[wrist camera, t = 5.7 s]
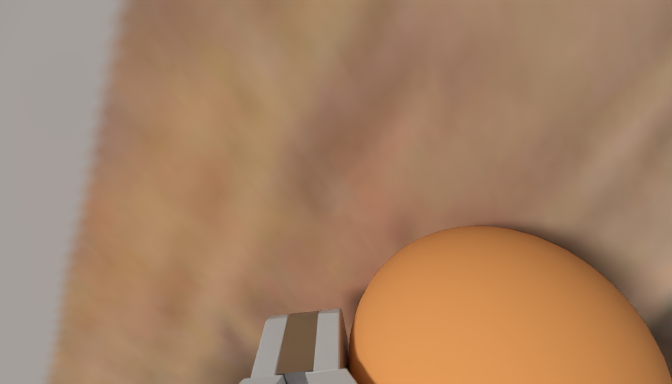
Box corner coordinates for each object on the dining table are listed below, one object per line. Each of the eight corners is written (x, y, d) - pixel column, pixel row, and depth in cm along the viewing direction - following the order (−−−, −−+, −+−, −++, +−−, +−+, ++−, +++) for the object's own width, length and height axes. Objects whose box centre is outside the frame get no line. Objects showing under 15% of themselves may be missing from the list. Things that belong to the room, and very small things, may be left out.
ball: (490, 345, 12) (706, 582, 6) (324, 381, 10) (412, 729, 5) (519, 183, 10) (870, 315, 4) (321, 200, 8) (462, 429, 3)
